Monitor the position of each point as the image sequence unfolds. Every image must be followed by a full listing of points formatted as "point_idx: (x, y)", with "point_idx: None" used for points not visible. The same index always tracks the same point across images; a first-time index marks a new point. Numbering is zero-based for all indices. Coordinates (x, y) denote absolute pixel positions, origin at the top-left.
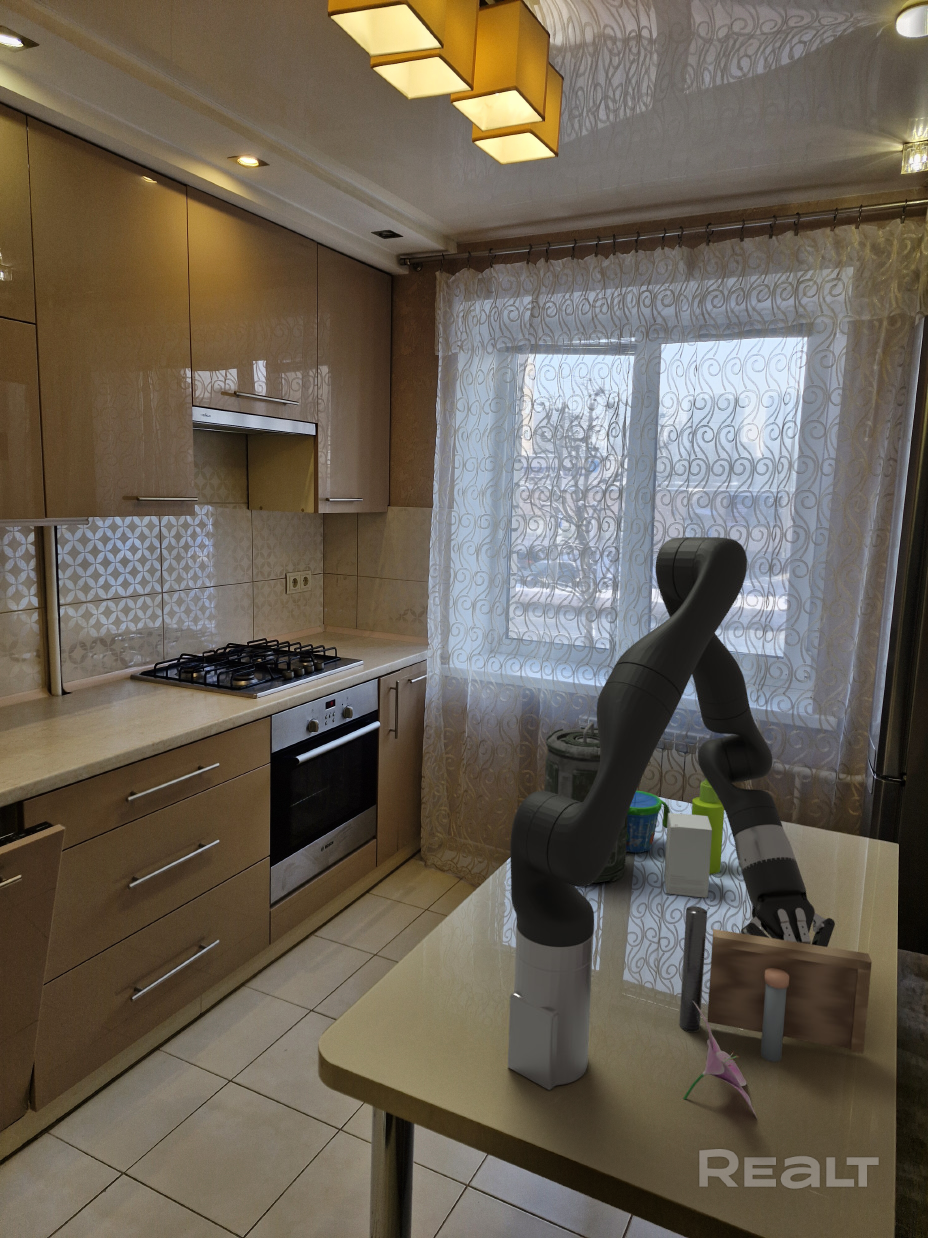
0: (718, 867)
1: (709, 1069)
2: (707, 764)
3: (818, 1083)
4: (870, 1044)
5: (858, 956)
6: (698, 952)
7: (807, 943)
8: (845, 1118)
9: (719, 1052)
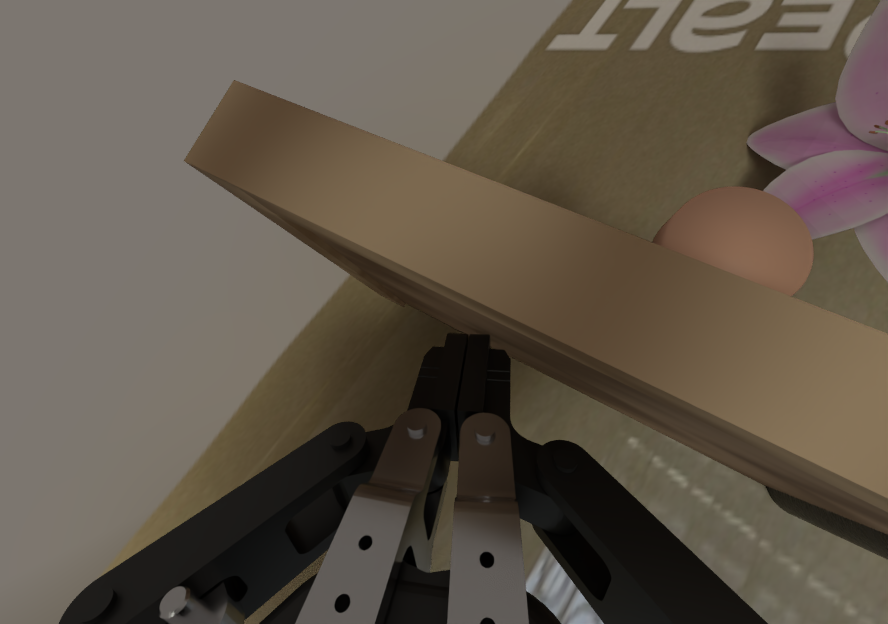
0: None
1: None
2: None
3: None
4: (341, 328)
5: (260, 132)
6: None
7: (381, 487)
8: (547, 132)
9: (885, 212)
